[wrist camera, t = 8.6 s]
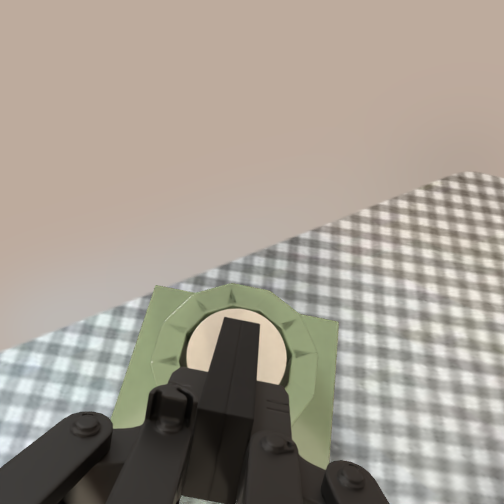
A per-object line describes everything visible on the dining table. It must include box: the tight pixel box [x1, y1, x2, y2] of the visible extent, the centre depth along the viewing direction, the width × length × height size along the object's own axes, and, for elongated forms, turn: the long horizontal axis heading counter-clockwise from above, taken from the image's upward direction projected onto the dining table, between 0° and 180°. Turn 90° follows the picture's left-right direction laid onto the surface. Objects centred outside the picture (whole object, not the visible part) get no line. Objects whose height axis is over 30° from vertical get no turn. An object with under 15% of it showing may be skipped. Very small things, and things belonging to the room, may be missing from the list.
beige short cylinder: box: [186, 309, 287, 385], centre depth 20 cm, size 4×4×3 cm
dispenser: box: [111, 283, 339, 470], centre depth 25 cm, size 10×8×14 cm
